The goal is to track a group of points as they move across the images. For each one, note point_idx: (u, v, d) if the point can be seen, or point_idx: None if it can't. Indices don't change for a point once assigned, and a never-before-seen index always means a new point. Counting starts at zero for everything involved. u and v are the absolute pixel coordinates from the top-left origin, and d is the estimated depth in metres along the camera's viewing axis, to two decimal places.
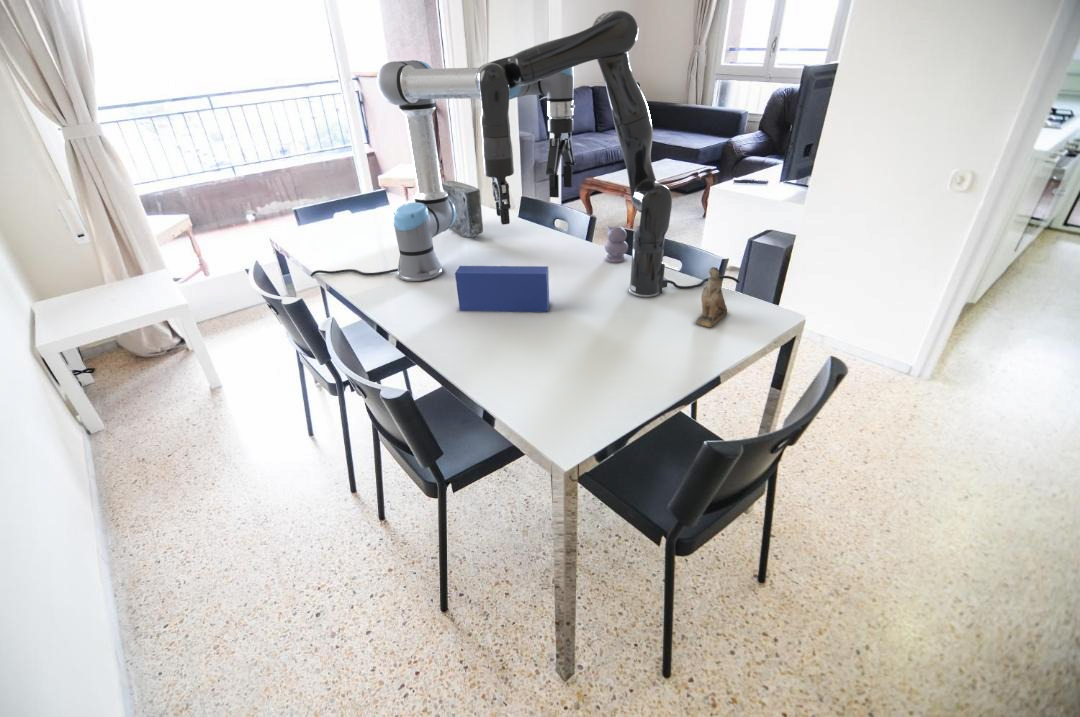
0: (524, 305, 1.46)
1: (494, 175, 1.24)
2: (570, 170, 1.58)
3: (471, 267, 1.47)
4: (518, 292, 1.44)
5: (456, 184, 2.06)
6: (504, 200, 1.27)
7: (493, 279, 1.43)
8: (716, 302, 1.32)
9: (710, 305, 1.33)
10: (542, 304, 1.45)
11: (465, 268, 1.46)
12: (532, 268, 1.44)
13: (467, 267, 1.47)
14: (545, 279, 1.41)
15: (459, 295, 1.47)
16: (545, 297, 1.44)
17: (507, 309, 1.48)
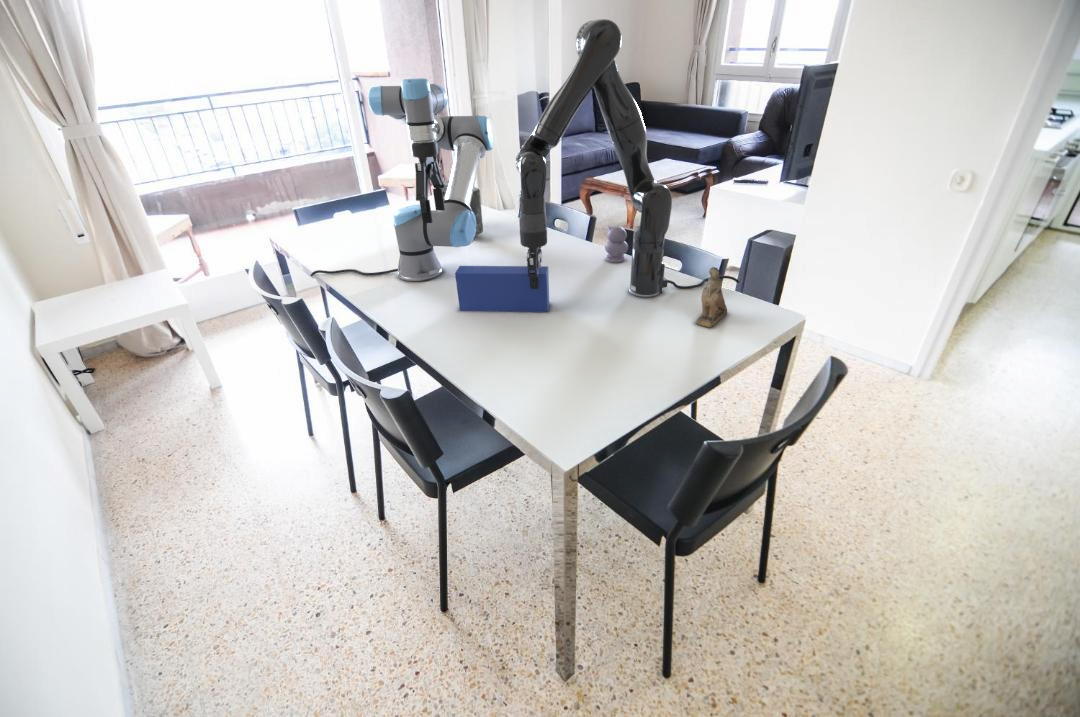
0: (524, 305, 1.46)
1: (526, 245, 1.36)
2: (440, 193, 1.54)
3: (471, 267, 1.47)
4: (518, 292, 1.44)
5: None
6: None
7: (493, 279, 1.43)
8: (716, 302, 1.32)
9: (710, 305, 1.33)
10: (542, 304, 1.45)
11: (465, 268, 1.46)
12: None
13: (467, 267, 1.47)
14: (545, 279, 1.41)
15: (459, 295, 1.47)
16: (545, 297, 1.44)
17: (507, 309, 1.48)
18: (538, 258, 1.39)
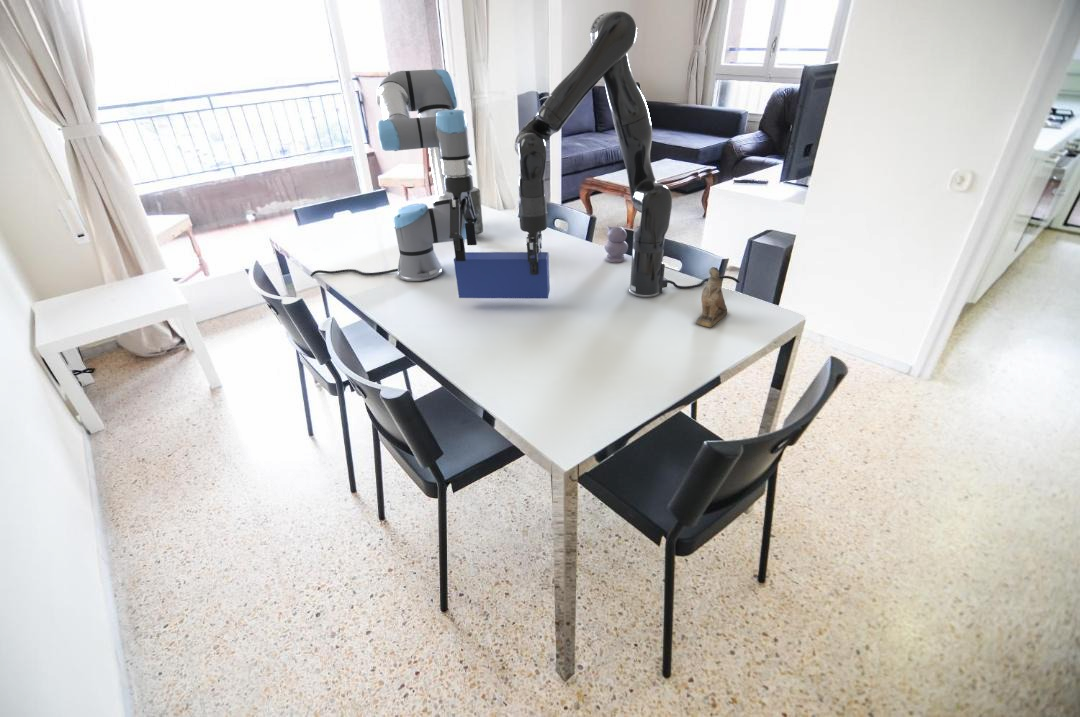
0: (524, 292, 1.44)
1: (526, 230, 1.34)
2: (473, 227, 1.45)
3: (470, 253, 1.44)
4: (517, 278, 1.42)
5: None
6: None
7: (492, 265, 1.41)
8: (716, 302, 1.32)
9: (710, 305, 1.33)
10: (542, 290, 1.43)
11: None
12: None
13: (466, 253, 1.44)
14: (545, 265, 1.39)
15: (458, 282, 1.45)
16: (545, 283, 1.42)
17: (507, 296, 1.45)
18: (538, 243, 1.37)
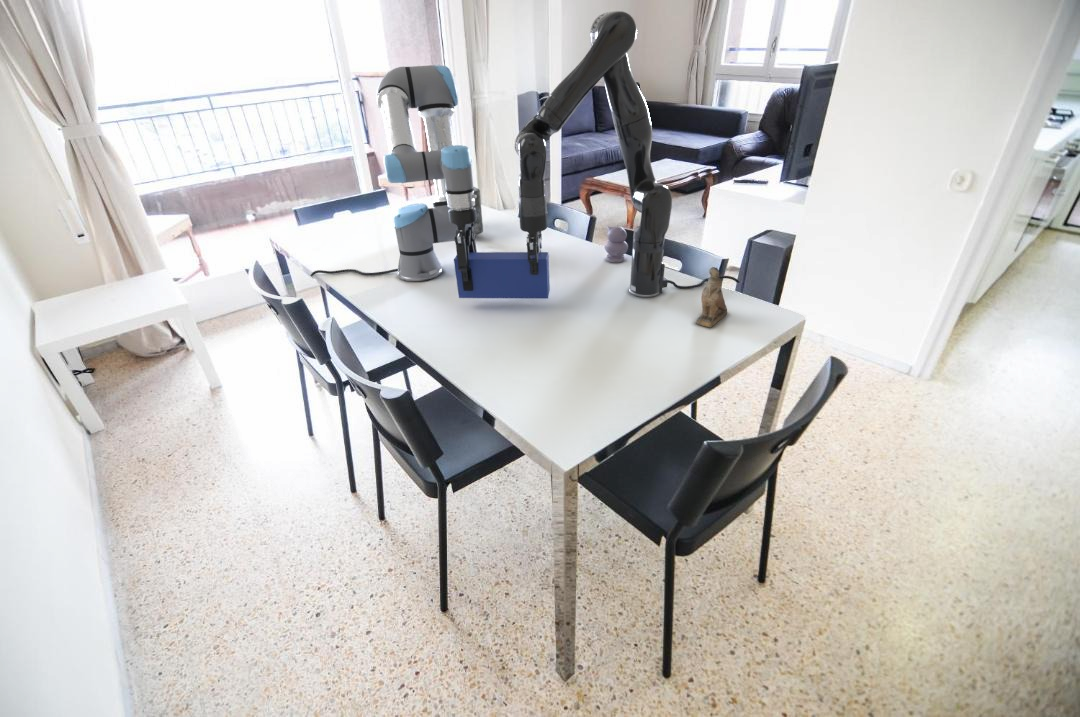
0: (524, 292, 1.44)
1: (526, 230, 1.34)
2: None
3: (470, 253, 1.44)
4: (517, 278, 1.42)
5: None
6: None
7: (492, 265, 1.41)
8: (716, 302, 1.32)
9: (710, 305, 1.33)
10: (542, 290, 1.43)
11: None
12: None
13: None
14: (545, 265, 1.39)
15: (458, 282, 1.44)
16: (545, 283, 1.42)
17: (507, 296, 1.45)
18: (538, 243, 1.37)
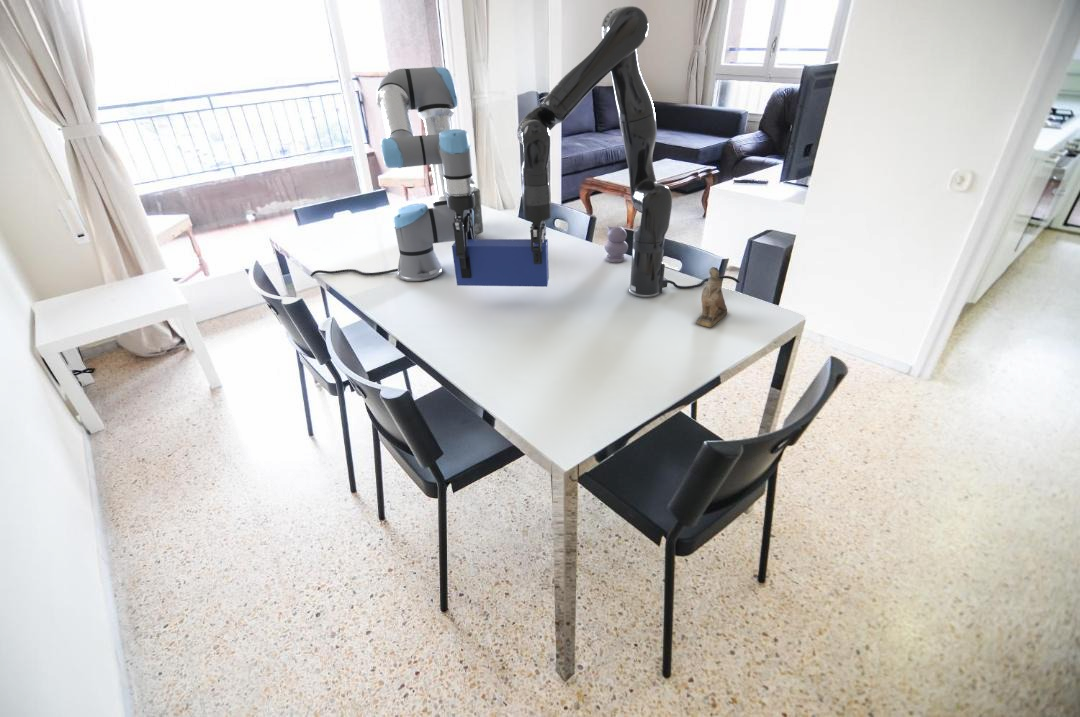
0: (523, 280, 1.43)
1: (529, 219, 1.32)
2: None
3: (468, 240, 1.43)
4: (516, 266, 1.40)
5: None
6: (538, 242, 1.35)
7: (491, 252, 1.39)
8: (716, 302, 1.32)
9: (710, 305, 1.33)
10: (541, 278, 1.42)
11: None
12: None
13: None
14: (544, 252, 1.37)
15: (456, 269, 1.43)
16: (544, 271, 1.40)
17: (505, 284, 1.44)
18: (542, 233, 1.35)
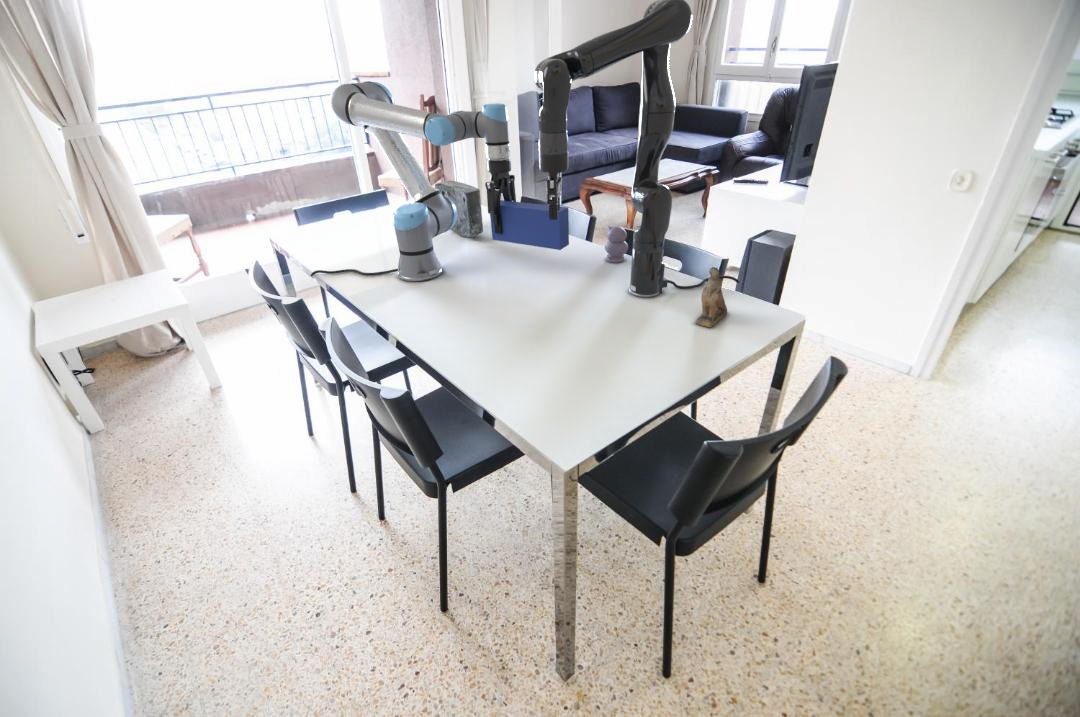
0: (541, 241, 1.60)
1: (546, 170, 1.25)
2: None
3: (506, 201, 1.65)
4: (536, 227, 1.58)
5: (456, 184, 2.06)
6: (554, 195, 1.28)
7: (517, 213, 1.59)
8: (716, 302, 1.32)
9: (710, 305, 1.33)
10: (556, 241, 1.57)
11: (500, 202, 1.65)
12: None
13: (503, 201, 1.65)
14: (558, 217, 1.52)
15: (492, 225, 1.67)
16: (558, 235, 1.55)
17: (528, 243, 1.63)
18: (558, 185, 1.28)
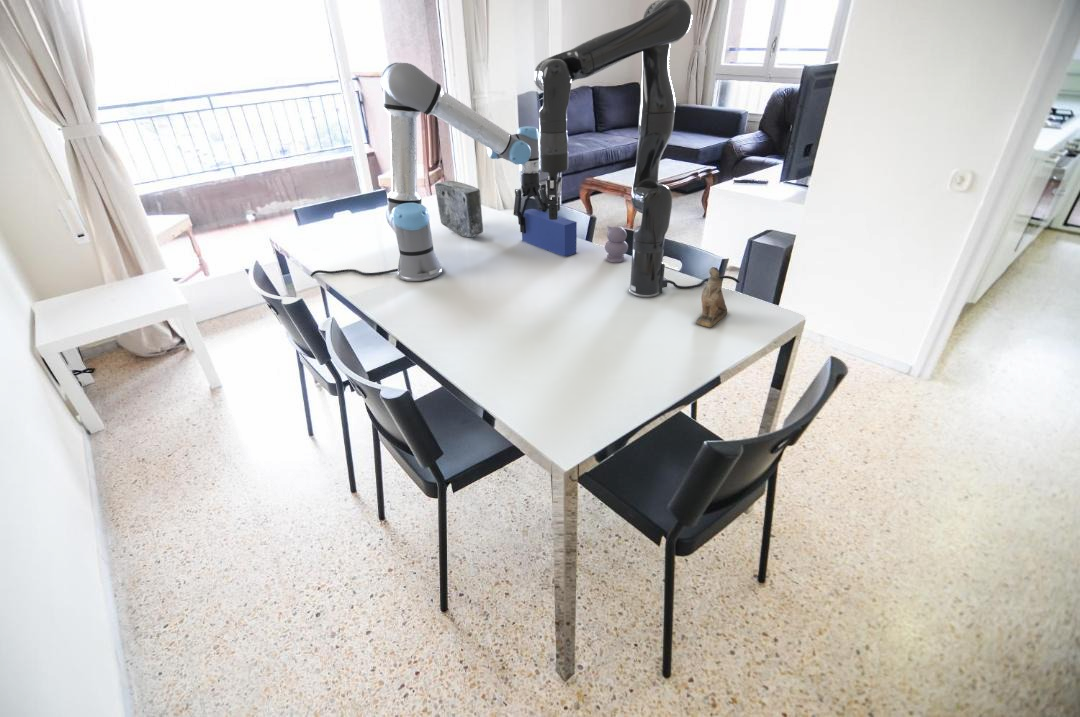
0: (553, 247, 1.89)
1: (546, 170, 1.25)
2: None
3: (535, 210, 1.97)
4: (550, 235, 1.88)
5: (456, 184, 2.06)
6: (554, 195, 1.28)
7: (538, 221, 1.91)
8: (716, 302, 1.32)
9: (710, 305, 1.33)
10: (562, 249, 1.85)
11: (530, 210, 1.98)
12: (564, 220, 1.84)
13: (533, 210, 1.98)
14: (564, 229, 1.81)
15: None
16: (564, 244, 1.84)
17: (544, 247, 1.93)
18: (558, 185, 1.28)
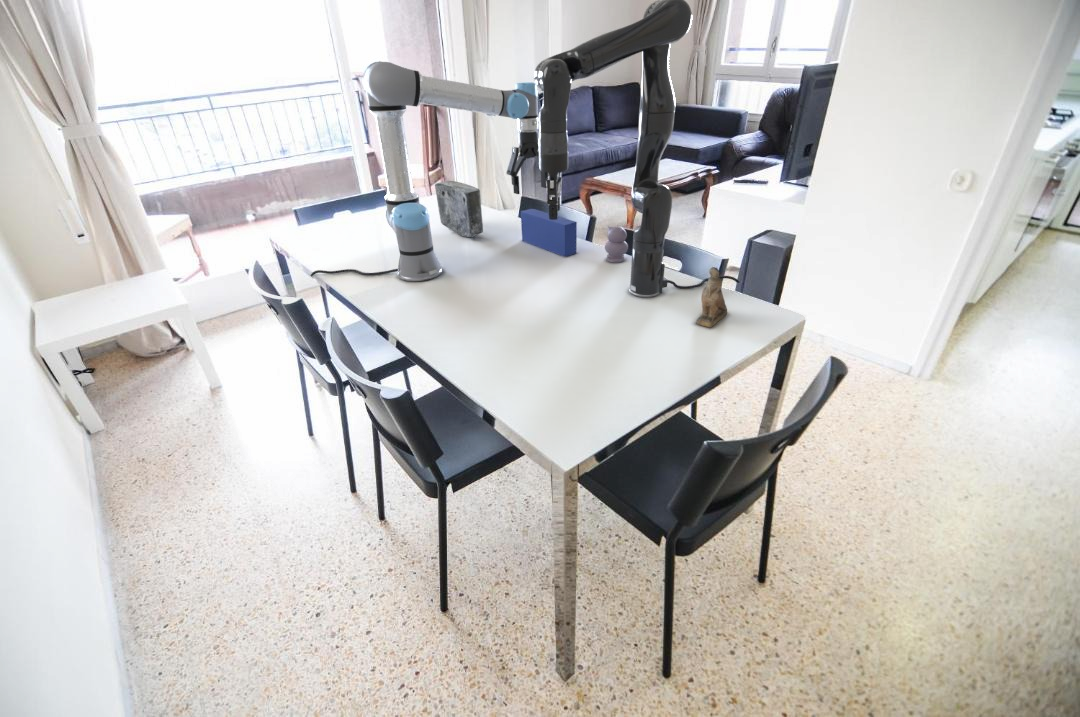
0: (553, 247, 1.89)
1: (546, 170, 1.25)
2: (544, 174, 1.92)
3: (535, 210, 1.97)
4: (550, 235, 1.88)
5: (456, 184, 2.06)
6: (554, 195, 1.28)
7: (538, 221, 1.91)
8: (716, 302, 1.32)
9: (710, 305, 1.33)
10: (562, 249, 1.85)
11: (530, 210, 1.98)
12: (564, 220, 1.84)
13: (533, 210, 1.98)
14: (564, 229, 1.81)
15: (522, 228, 2.01)
16: (564, 244, 1.84)
17: (544, 247, 1.93)
18: (558, 185, 1.28)
